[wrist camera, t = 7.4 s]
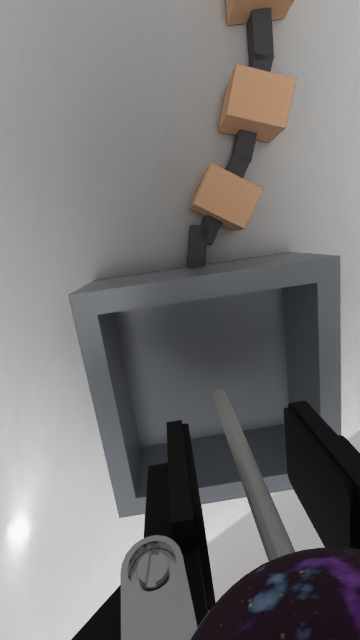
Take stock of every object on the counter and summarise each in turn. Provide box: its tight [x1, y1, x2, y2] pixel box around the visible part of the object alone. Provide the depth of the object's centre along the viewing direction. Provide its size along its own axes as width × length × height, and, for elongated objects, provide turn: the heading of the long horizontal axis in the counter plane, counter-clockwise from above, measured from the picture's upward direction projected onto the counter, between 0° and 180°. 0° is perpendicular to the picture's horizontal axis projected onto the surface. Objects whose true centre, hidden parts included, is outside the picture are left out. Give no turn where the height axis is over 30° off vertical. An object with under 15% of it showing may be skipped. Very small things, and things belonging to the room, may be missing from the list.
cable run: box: [187, 0, 297, 268], centre depth 15 cm, size 16×4×2 cm, turn 172°
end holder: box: [68, 252, 341, 518], centre depth 17 cm, size 12×12×5 cm
